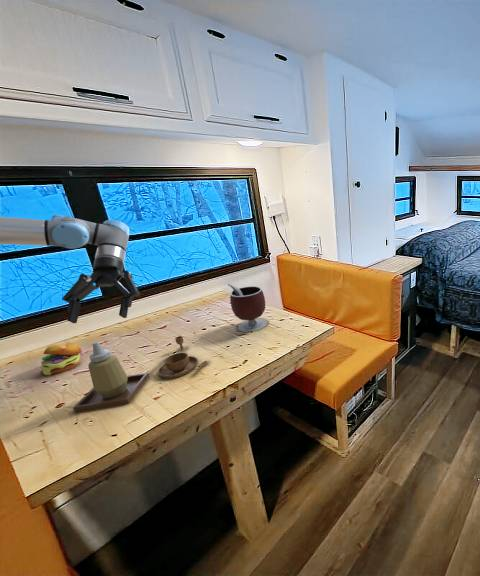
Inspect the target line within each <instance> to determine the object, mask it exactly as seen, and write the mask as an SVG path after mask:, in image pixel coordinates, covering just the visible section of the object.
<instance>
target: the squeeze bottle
mask: <svg viewBox="0 0 480 576" xmlns="http://www.w3.org/2000/svg"><path fill="white" fill-rule="evenodd" d="M89 359H90V362H89V363H88V365H87V368H88V371H89V374H90V375H89V376H90V379H91V383H92V388H93V387H94V390H95V391H96V392H98V393H99V394H100V395H101V396H102V397H104V398H112V397H116V396H118V395H120V394H122V393H123V392H125V390H126V389H127V379H128V377H127V376H128V375H127V373H126V371H125V369H124V368H123V366H122V364H121V362H120V361H119V358H118V357H117V356H116V355H115V354H112V353H111V350H110V349H106V348H105V349H104V348H103V347H102V345H101V344H100V343H99V341H94V342H92V353H91V354H90V355H89Z"/></svg>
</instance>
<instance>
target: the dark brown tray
mask: <svg viewBox="0 0 480 576" xmlns="http://www.w3.org/2000/svg"><path fill="white" fill-rule="evenodd" d="M127 377H128V379H127V389H126V390H125V392H123V393H122V394H120V395H118V396H116V397H112V398H104V397H102V396H101V395H100V394H99V393H98V392H96V391H95V390H94V387H93V386H92V388H91V389H90V390H89V391H88V392H87V393H86V394H85V395H84V396H83V397H82V398H81V399H80V400H79V401H78V402H77V403H76V404H75V405H74V406H73V407H72V409H73V411H74V413H79V412H86V411H91V410H96V409H97V410H98V409H102V408H103V409H104V408H109V407H115V406H122V405H127V404H130V402H131V401H132V400H133V399H134V398H135V396H136V395H137V394H138V392H140V390H141V388H142V387H143V386H144V384H145V383H146V382H147V380H148V379H149V378H150V374H149V372H143V373H137V374H131V375H127Z"/></svg>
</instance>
